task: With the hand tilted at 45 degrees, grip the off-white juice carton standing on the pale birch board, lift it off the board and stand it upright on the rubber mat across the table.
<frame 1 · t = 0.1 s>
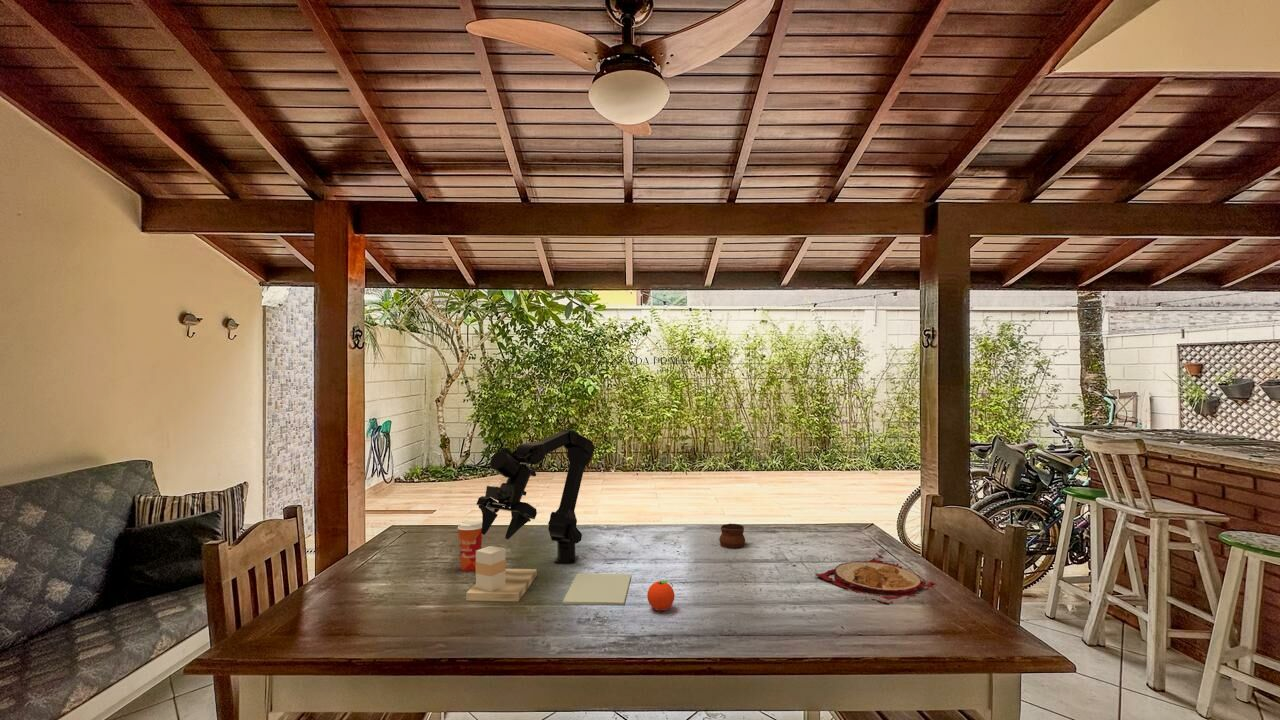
hand: (494, 536, 169), 15 cm above the table, tool tilted 35°, fingers open, 9 cm apart
clementine: (662, 609, 155), on the table
mat: (599, 589, 169), on the table
plate with food: (879, 584, 173), on the table
board: (503, 587, 171), on the table
ceramic pot: (732, 547, 210), on the table
paper cup: (470, 568, 188), on the table
carton: (490, 586, 166), point 2 cm above the table, touching board
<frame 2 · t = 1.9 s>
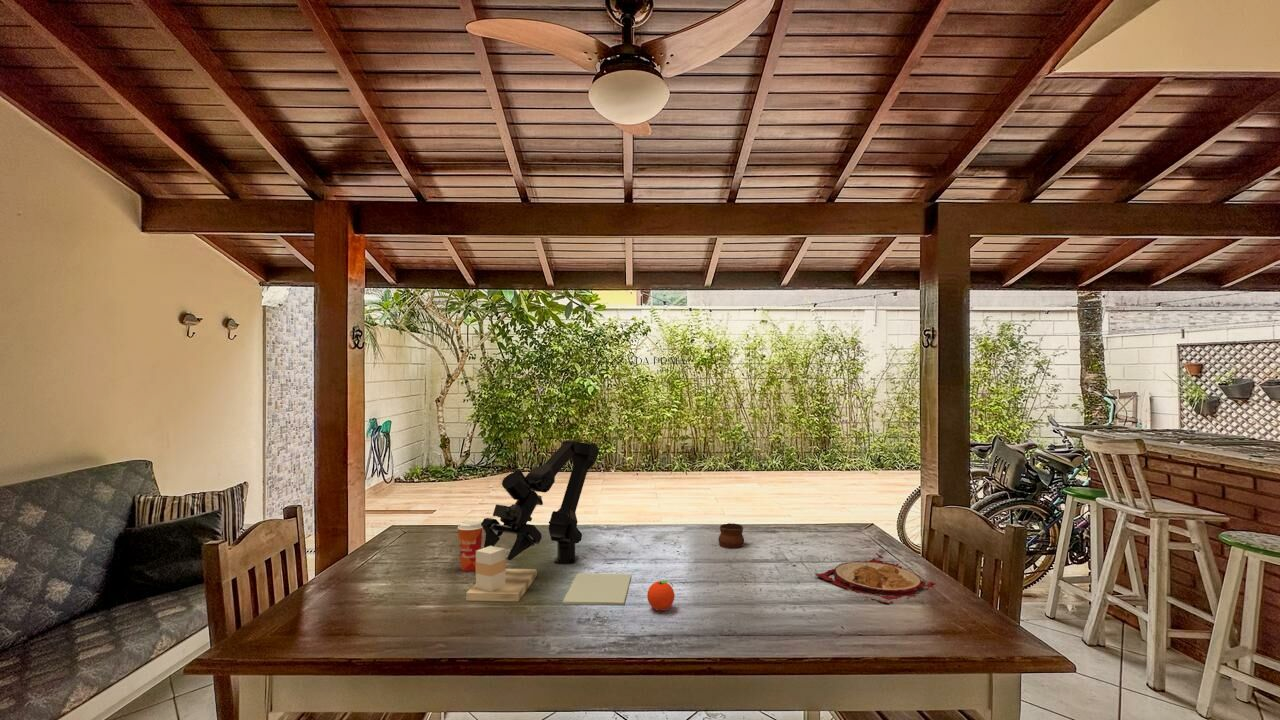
hand: (496, 557, 168), 9 cm above the table, tool tilted 45°, fingers open, 9 cm apart
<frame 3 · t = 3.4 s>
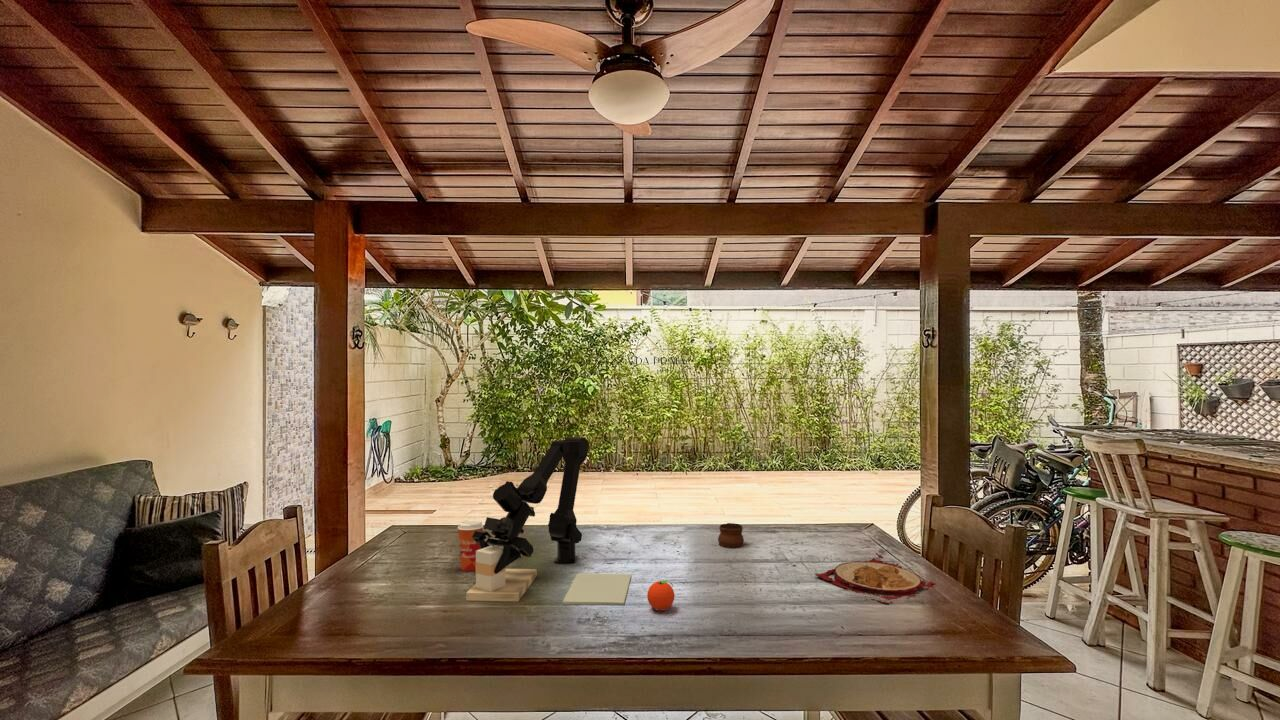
hand: (486, 571, 165), 7 cm above the table, tool tilted 45°, fingers closed on carton, 6 cm apart
carton: (490, 586, 166), point 2 cm above the table, touching board, gripper
everything else where it was.
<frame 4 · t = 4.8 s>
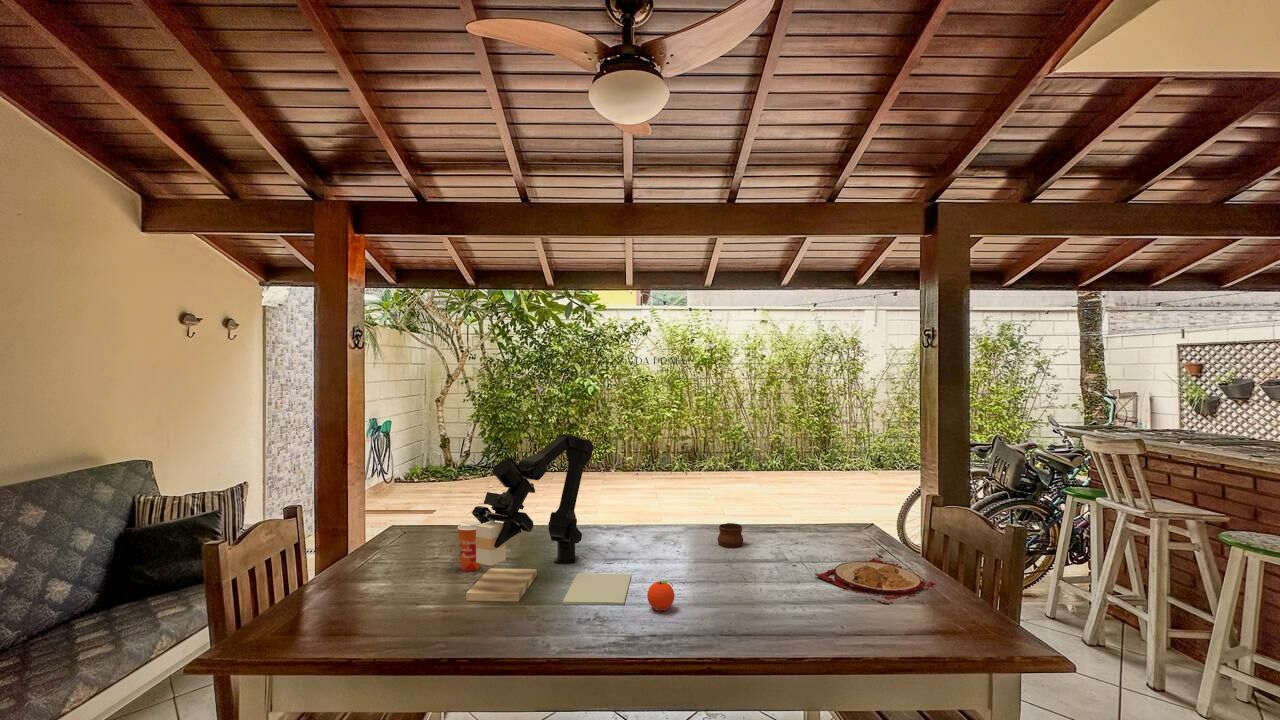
hand: (487, 545, 165), 13 cm above the table, tool tilted 45°, fingers closed on carton, 6 cm apart
carton: (490, 561, 166), point 9 cm above the table, touching gripper
everything else where it was.
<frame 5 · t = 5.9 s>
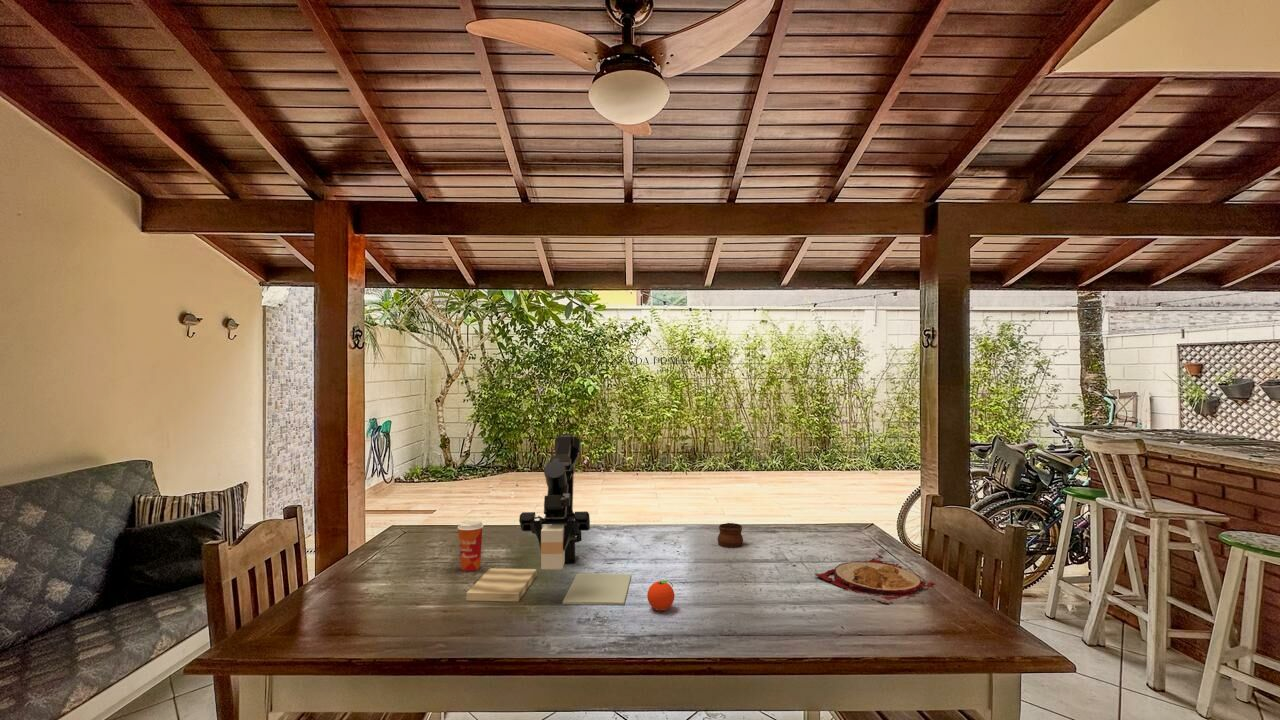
hand: (552, 549, 161), 13 cm above the table, tool tilted 45°, fingers closed on carton, 6 cm apart
carton: (553, 565, 162), point 9 cm above the table, touching gripper
when the fingers open (7 cm above the table, at t = 8.5 s): carton drops 2 cm, resting on mat.
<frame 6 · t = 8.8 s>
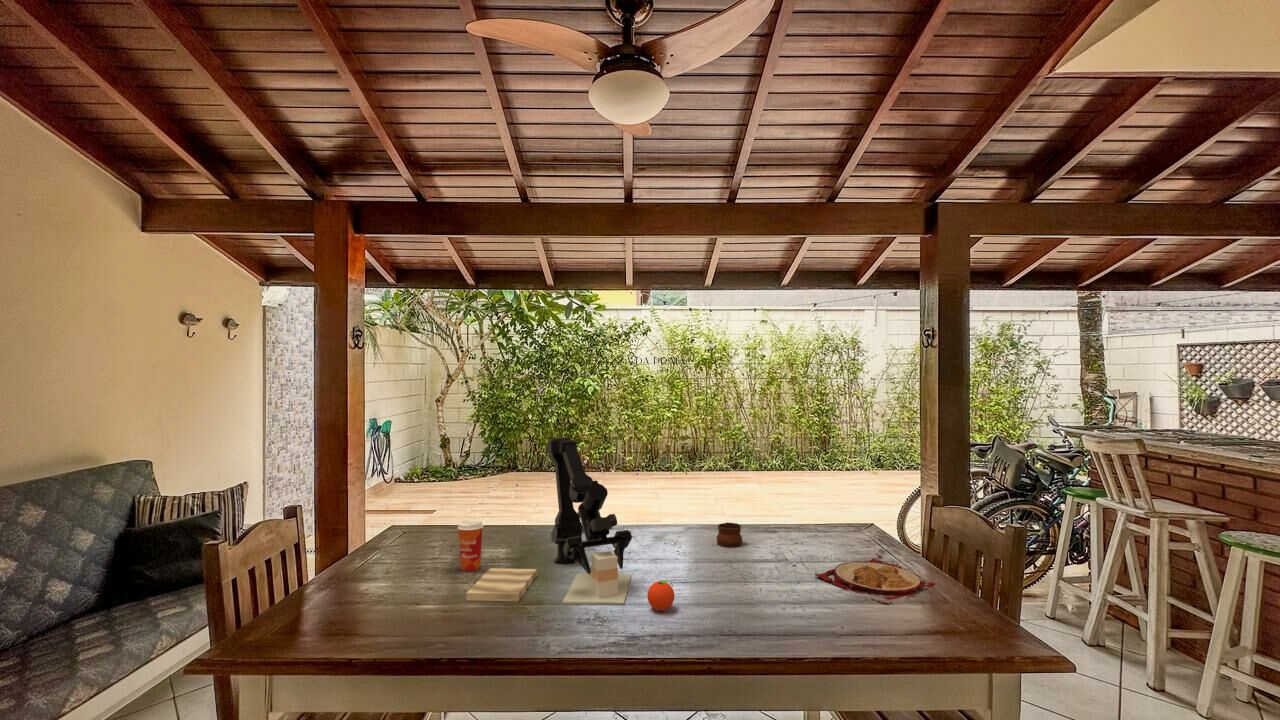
hand: (606, 571, 164), 7 cm above the table, tool tilted 45°, fingers open, 9 cm apart
carton: (604, 592, 165), point 1 cm above the table, touching mat
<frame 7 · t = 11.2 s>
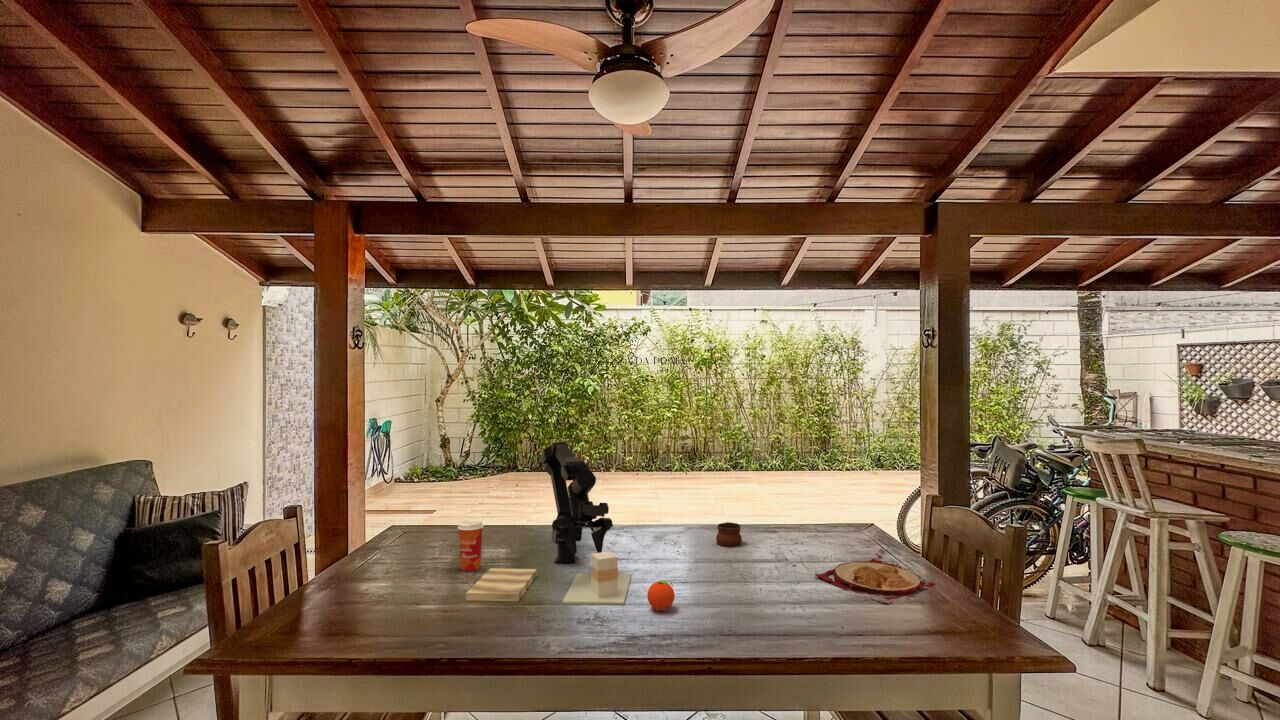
hand: (587, 553, 174), 8 cm above the table, tool tilted 30°, fingers open, 9 cm apart
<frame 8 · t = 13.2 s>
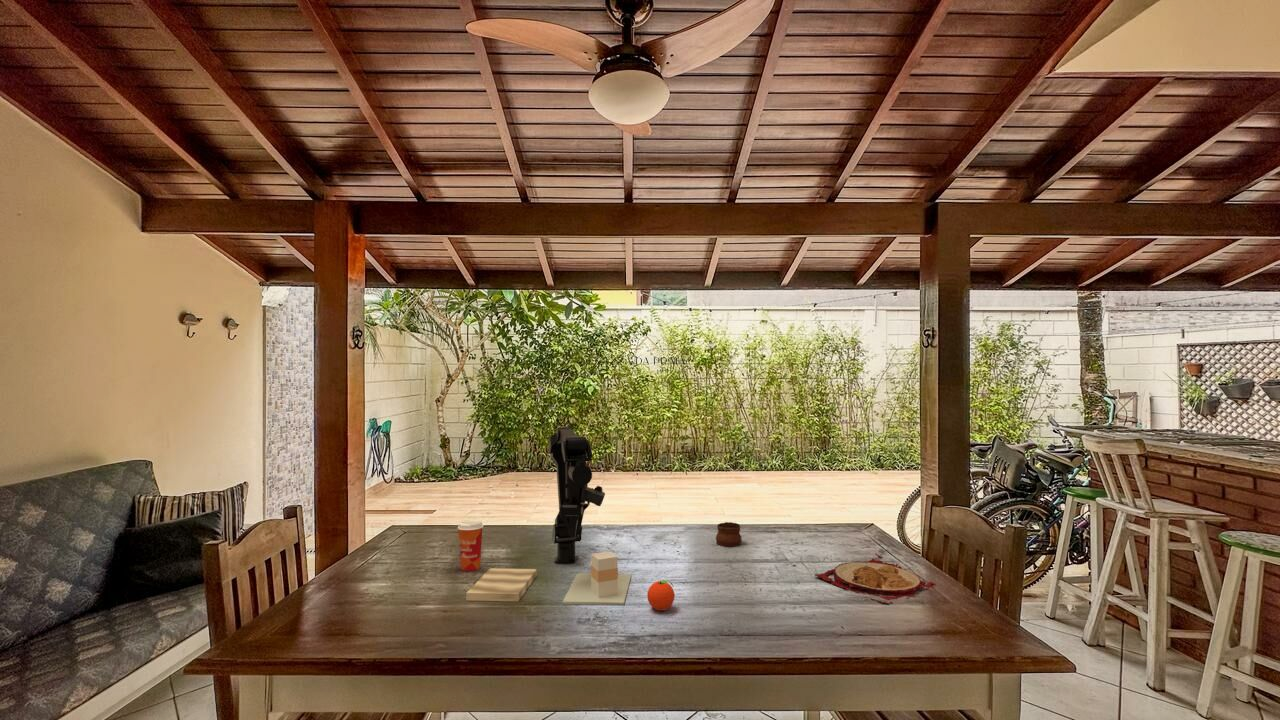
hand: (575, 533, 179), 13 cm above the table, tool pointing down, fingers open, 9 cm apart
at the end: carton inside the target area on the mat (4.6 cm from its centre), point 0.6 cm above the mat's base; carton tilted 0°; the gripper is holding nothing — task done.
